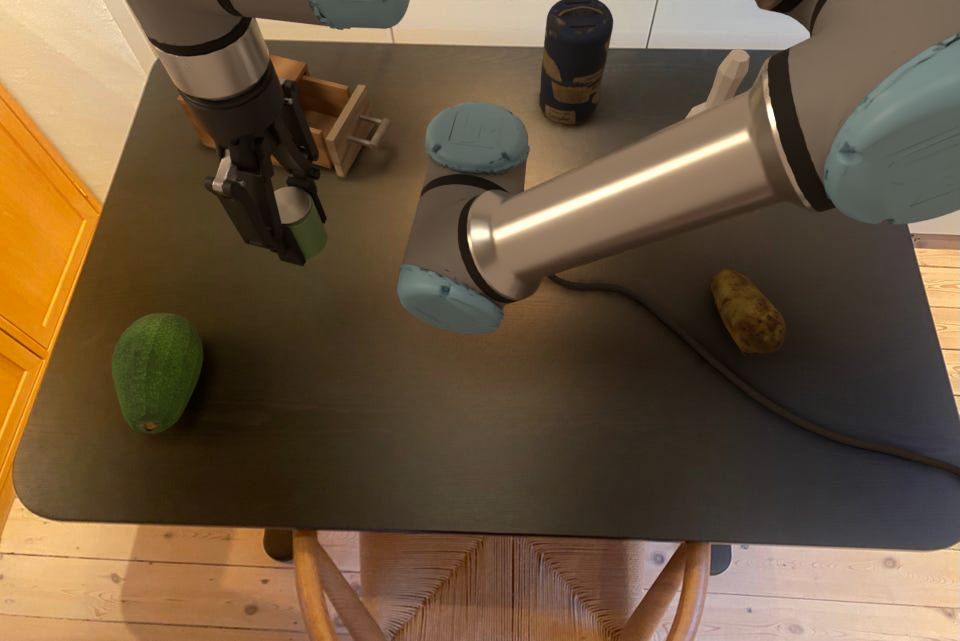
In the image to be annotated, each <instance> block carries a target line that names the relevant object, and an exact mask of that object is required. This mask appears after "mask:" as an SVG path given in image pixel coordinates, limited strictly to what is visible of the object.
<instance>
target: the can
mask: <svg viewBox="0 0 960 641" xmlns="http://www.w3.org/2000/svg"><path fill="white" fill-rule="evenodd" d="M274 194H275V198H276V202H277V206H278V210H279V215H280V219H281V223H282V225H286V226H289V228H290V230H291V232H292V234H293V236H294V238H295V240H296V241H297V243H298V245H299V247H300V249H301V251H302V253H303V255H304V257H305V259H306V260H310V259H312V258H314V257H316V256H317V255H319V254H320V253H321V252H322V251H323V250H324V248H325V247H326V245H327V243H328V242H327V241H328V234H327V231H326V229H325V226H324V224H323V223H322V221H321V218H320V216H319V214H318V211H317V209H316V206H315V204H314V201H313V199H312V197H311V196H310V195H309V194H308V193H307V192H305V191H304V190H303V189H301V188H298V187H288V186H284V187H280V188H278V189H276V190H274Z"/></svg>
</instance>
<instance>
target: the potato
mask: <svg viewBox="0 0 960 641" xmlns="http://www.w3.org/2000/svg"><path fill="white" fill-rule="evenodd" d="M710 282H711V283H710V291H711V294H712V296H713V297H714V298H713V302H714V305H715V307H716V308H717V311H718V314H719V317H720V319H721V321H722V323H723V324H724V326H725V329H726V330H727V331H728V333H729V334H730V336H731V338H732V339H733V342H734V343H735V344H736V345H737V347H738V350H739V352H740V353H741V354H742V355H744V356H745V357H746V356H750V355H763V354H773V353H774V352H776V351H778V350H779V349H780V348H781V347H782V346H783V345H784V342H785V340H786V335H787V328H786V322H785V320H784V317H783V316H782V314H781V313H780V312H779V311H778V309H777V308H776V307H775V305H774V304H773V302H771V301H770V300H769V298H767V297H766V296H765V295H764V294H763V293H762V292H761V291H760V290H759V288H758V287H757V286H756V285H755V284H754V283H753V282H752V281H751V280H750V279H749V278H748V277H746V276H745V275H744V274H742V273H741V272H740V271H737V270H735V269H732V268H726V269H723V270H722V269H721V270H720V271H718V272H716V273H715V275H714V276H713V277H712V278H711V280H710Z"/></svg>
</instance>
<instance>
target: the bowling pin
mask: <svg viewBox="0 0 960 641" xmlns="http://www.w3.org/2000/svg"><path fill="white" fill-rule="evenodd" d="M750 57H751V56H750V54H748V52H747V50H744V49H742V48H735V49H731V51H730V52H729V53H728V54H727V56H726V57H725V58H724V59H723V60H722V62H721V63H720V64H719V66H718V68H717V71H716V74H715V77H714V81H713V84H712V87H711V89H710V92H709V94H708V96H707V99H706V101H704V102H702V103H700V104H698V105H695V106H693V107H692V108H691V110H690V111H688V114H686V116H685V118H684V119H686V118H688V117H691V116H693V115H695V114H697V113H699V112H702V111H704V110H706V109H708V108H711V107H713V106H715V105H717V104H720V103H722V102H724V101H726V100H728V99H731V98H733V97H735V94H736V92H737V90H738V88H739V87H740V85H741V84H742V82H743V80H744V78H745V77H746V75H747V74H748V71H749V68H750V67H749V65H750Z"/></svg>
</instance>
